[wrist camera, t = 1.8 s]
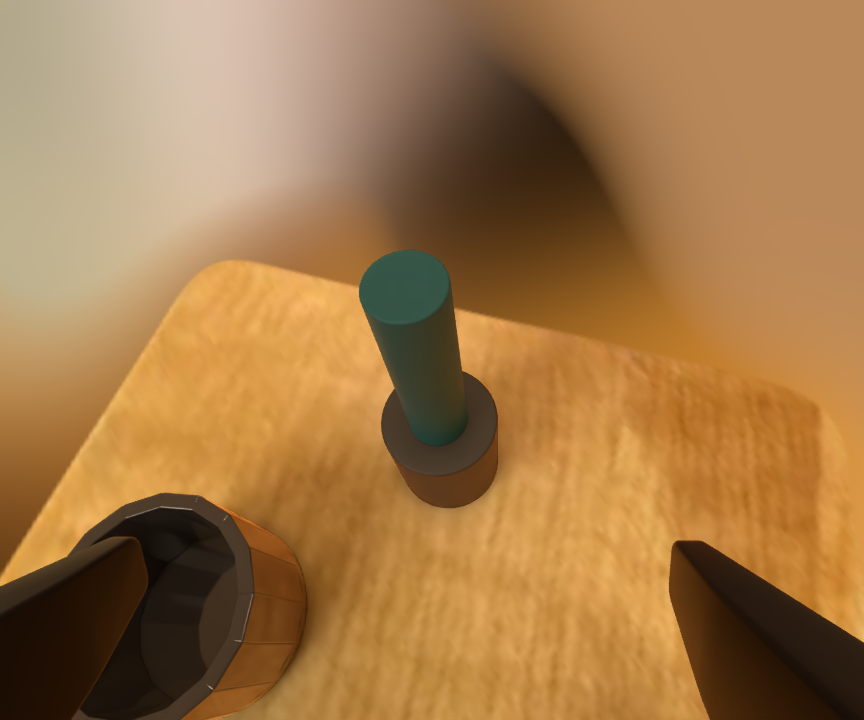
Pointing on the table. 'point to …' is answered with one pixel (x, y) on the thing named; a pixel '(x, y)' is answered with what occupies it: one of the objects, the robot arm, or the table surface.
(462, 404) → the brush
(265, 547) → the tumbler
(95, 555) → the robot arm
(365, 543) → the table surface
